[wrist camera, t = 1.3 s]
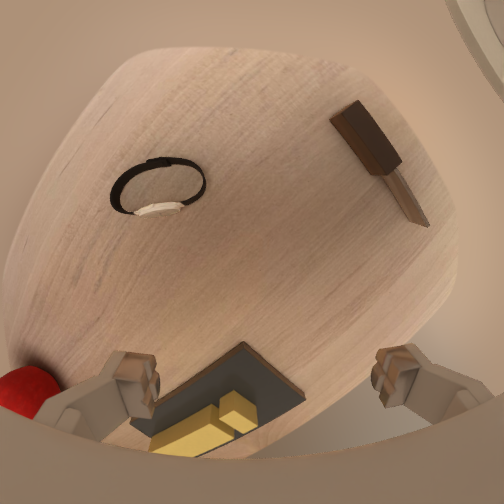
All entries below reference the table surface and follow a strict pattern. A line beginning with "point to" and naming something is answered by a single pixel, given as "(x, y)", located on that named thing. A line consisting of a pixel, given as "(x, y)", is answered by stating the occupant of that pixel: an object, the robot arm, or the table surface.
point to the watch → (157, 208)
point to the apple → (27, 390)
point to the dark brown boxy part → (377, 155)
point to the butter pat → (238, 412)
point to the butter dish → (226, 392)
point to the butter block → (193, 434)
